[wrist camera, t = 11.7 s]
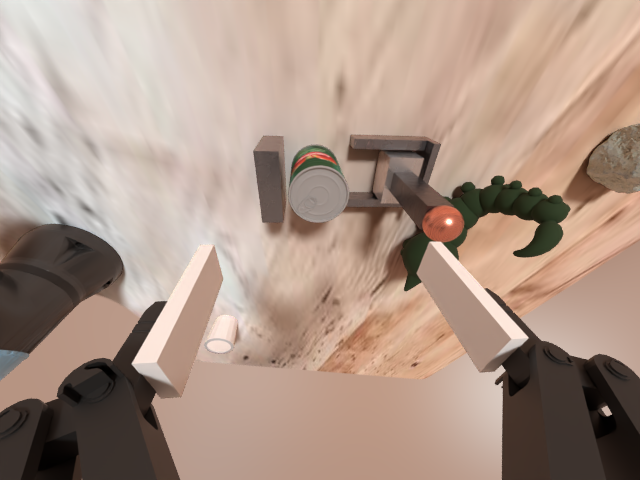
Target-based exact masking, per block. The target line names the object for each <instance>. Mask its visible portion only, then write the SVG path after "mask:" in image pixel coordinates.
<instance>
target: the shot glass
mask: <svg viewBox="0 0 640 480" xmlns="http://www.w3.org/2000/svg"><path fill="white" fill-rule="evenodd" d="M237 324H238V321H237V319H236V318H235V317H233V316H230V315H221V316H218V317H217V318H216V320H215V322H214V324H213V326H212V329H211V331H210V333H209V335H208V337H207V339H206V341H205V344H204V346H205V348H206V349H207V350H208V351H210V352H213V353H218V354H224V353H228V352H230V351H232V350H233V348H234V344H235V337H236V331H237Z"/></svg>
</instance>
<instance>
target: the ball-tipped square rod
mask: <svg viewBox="0 0 640 480" xmlns="http://www.w3.org/2000/svg"><path fill="white" fill-rule="evenodd" d="M423 160H424V158H423V157H421V156H420V155H418V154H416V153H415V152H413V151H412V150H381V149H380V152H379V157H378V163H377V168H376V174H375V179H374V185H373V190H372V191H373V192H374V194H375V195H376V197H377V198H378V200H379V202H380V203H396V204H400V205H401V206H402V207H403V209H404V210H405V211H406V212H407V214H408V215H409V216H410V217H411V219H412V220H413V221H414V223H415V224H416V225H417V226H418V228H419V229H423V231H424V233H425V234H426V236H427V237H428V238H430V239H431V240H433V241H436V242H449V241H452V240H454V239H455V238H457V237H458V236H459V235H460V234H461V232H462V230H463V228H464V219H463V216H462V214H461V213H460V212H459V211H458V210H457V209H455V208H454V206H453V205H452V204H451V203H450V202H449V201H447V200H446V199H445V198H444V197H442V196H441V195H440V194H439V193H438V192H436V191H435V190H434V189H433V188H432V187H430V186H429V185H428V184H427V183H425V182H424V181H423V180H422V179H421V178H419V174H420V170H421V167H422V164H423Z"/></svg>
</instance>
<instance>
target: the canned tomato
mask: <svg viewBox="0 0 640 480" xmlns="http://www.w3.org/2000/svg"><path fill="white" fill-rule="evenodd" d="M288 197H289V202H290V205H291V207H292V209H293V211H294V212H295V213H296V214H297V215H298V216H299V217H301V218H302V219H304V220H306V221H309V222H315V223H322V222H327V221H330V220H332V219H334V218H335V217H337V216H338V215H339V214H341V213H342V211H343V210H344V209H345V207H346V205H347V203H348V199H349V187H348V184H347V181H346V180H345V178H344V175H343V173H342V171H341V168H340V166H339V164H338V161H337V159H336V157H335V155H334V153H333V152H332V151H331V150H330V149H328V148H327V147H324V146H322V145H309V146H306V147H304V148H302V149H301V150H299V151H298V153H297V154H296V155H295V157H294V159H293V162H292V167H291V178H290V186H289V193H288Z"/></svg>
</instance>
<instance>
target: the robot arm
mask: <svg viewBox="0 0 640 480" xmlns="http://www.w3.org/2000/svg"><path fill="white" fill-rule="evenodd" d="M122 269H123V266H122V262H121V259H120V257H119V256H118V254H117V253H116V252H115V250H114V249H113V248H112V247H111V246H110V245H108V244H107V243H106V242H105V241H103V240H102V239H100V238H99V237H97V236H95V235H93V234H91V233H89V232H87V231H84V230H82V229H79V228H76V227H72V226H68V225H61V224H47V225H42V226H39V227H37V228H35V229H33V230H31V231H29V232H28V233H26V234H24V235H23V236H22V237H21V238H20V239H19V240H18V242H17V243H16V244H15V245H14V247H13V248H12V249H11V250H10V251H9V253H8V254H7V255H6V256H5V257H4V259H3V260H2V261H1V262H0V380H2V379H3V378H4V377H5V376H6V375H7V374H9V373H10V372H11V371H12V370H13V369H14V368H15V367H16V366H18V365H19V364H20V363H21V362H22V361H23V360H25V359H26V358H28V357H29V354H30V353H31V352H32V351H33V350H34V349H35V348H36V347H37V346H38V345H39V344H40V343H41V342H42V341H43V340H44V339H45V338H46V337H47V336H48V335H49V333H51V331H52V330H53V329H54V328H55V327H56V326H57V325H58V324H59V323H60V322H61V321H62V320H63V319H64V318H65V317H66V316H67V315H68V314H69V313H70V312H71V311H72V310H73V309H74V308H75V307H76V306H77V305H78V304H79V303H80V302H81V301H83V300H85V299H87V298H89V297H91V296H92V295H94V294H96V293H98V292H100V291H101V290H103V289H105V288H107V287H108V286H110V285H111V284H112V283H113V282H114V281H115V280H116V279H117V278H118V277H119V276H120V275H121V273H122ZM417 275H418V277H419V278H420V280H421V281H422V283H423V284H424V286H425V288H426V289H427V291H428V292H429V294H430V295H431V297H432V299H433V300H434V302H435V303H436V305H437V306H438V308H439V310H440V311H441V313H442V314H443V316H444V317H445V319H446V321H447V322H448V324H449V325H450V327H451V328H452V330H453V332H454V333H455V335H456V336H457V338H458V339H459V341H460V342H461V344H462V346H463V347H464V349H465V350H466V352H467V353H468V355H469V357H470V358H471V359H472V361H473V363H474V364H475V366H476V368H477V369H478V371H479V372H492V371H495V370H496V369H497V368H499V366H501V365H502V366H503V367H504V369H505V370H506V371H505V372H504V373H503V374H502V375H501V376H500V377H499V378H498V379H497V380H496V382H495V384H496V385H498V384H499V383H501V382H502V381H503V386H502V388H503V424H502V428H503V430H502V480H640V378H639V377H638V376H637V375H636V374H635V373H634V372H633V371H632V370H631V369H630V368H628V367H627V366H626V365H624V364H623V363H621V362H620V361H618V360H616V359H614V358H612V357H609V356H607V355H602V354H598V355H595V356H593V357H592V358H590V359H589V360H586V359H582V358H578V357H574V356H570V355H569V354H568V353H566V352H565V351H564V350H563V349H561V348H560V347H558V346H556V345H554V344H552V343H549V342H546V341H541V340H540V339H539V338H538V337H537V336H536V335H535V334H534V333H533V332H532V331H531V330H530V329H529V328H528V327H527V326H526V324H525V323H524V322H523V321H522V320H521V319H520V318H519V317H518V316H517V315H516V314H515V313H513V311H512V310H511V309H510V308H509V307H508V306H506V303H505V302H504V301H503V300H502V299H501V298H500V297H499V296H498V295H496V294H495V293H493V292H492V291H491V290H489V289H488V288H485V289H484V288H483V287H482V286H481V285H480V284H479V283H478V282H477V281H476V280H475V279H474V277H473V276H472V275H471V274H470V273H469V272H468V271H467V270H466V269H465V268H464V267H463V265H462V264H461V263H460V262H459V261H458V260H457V259H456V258H455V257H454V256H453V254H452V253H451V252H450V251H449V250H448V249H447V248H446V247H445V246H444V245H443V244H442V242H429V244H428V246H427V249H426V251H425V254H424V256H423V259H422V261H421V264H420V266H419V269H418V271H417ZM222 281H223V276H222V272H221V269H220V265H219V261H218V258H217V254H216V250H215V247H214V245H200V246H199V247H198V249H197V251H196V253H195V254H194V256H193V258H192V260H191V261H190V263H189V265H188V266H187V268H186V270H185V272H184V273H183V275H182V277H181V279H180V280H179V282H178V284H177V286H176V287H175V289H174V291H173V293H172V294H171V296H170V298H169V300H168V301H161V302H155V303H154V304H153V305H151V306H150V307H149V308H148V309H147V310H146V311H145V312H144V313H143V315H142V316H141V318H140V320H139V321H138V324H136V326H135V327H134V329H133V330H132V333H130V335H129V337H128V338H127V340H126V341H125V343H124V344H123V346H122V347H121V349H120V350H119V352H118V354H117V355H116V357H115V358H114V360H113V361H111V360H110V359H106V358H100V359H94V360H92V361H89V362H87V363H84V364H83V365H81V366H80V367H78V368H77V369H75V370H74V371H73V372H71V373H70V374H69V375H68V376H67V377H66V378H65V379H64V381H63V382H62V384H61V385H60V387H59V388H58V393H57V397H58V398H59V399H56V400H53V401H50V402H47V403H44V402H42V401H41V400H39V399H26V400H23V401H20V402H17V403H16V404H13V405H11V406H10V407H8V408H6V409H5V410H3V411H2V412H1V413H0V480H180V478H179V475H178V473H177V470H176V467H175V464H174V462H173V459H172V456H171V453H170V451H169V448H168V445H167V442H166V440H165V437H164V434H163V431H162V429H161V426H160V423H159V420H158V418H157V415H156V412H155V409H154V407H153V405H152V404H151V402H152V400H153V398H154V396H155V393H157V394H158V395H159V397H161V398H173V397H181V396H182V394H183V391H184V388H185V385H186V382H187V380H188V377H189V374H190V371H191V368H192V365H193V363H194V360H195V357H196V354H197V352H198V349H199V346H200V343H201V340H202V338H203V335H204V332H205V329H206V326H207V324H208V321H209V318H210V315H211V312H212V310H213V307H214V304H215V301H216V298H217V295H218V293H219V290H220V287H221V284H222ZM605 406H608V408H609V409H610V411H611V413H612V415H610V416H606V415H605V414H604V412H603V411H602V409H601V408H603V407H605Z"/></svg>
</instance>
